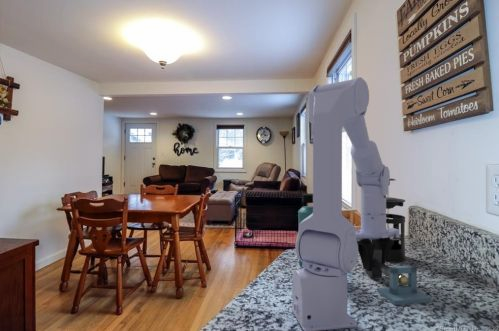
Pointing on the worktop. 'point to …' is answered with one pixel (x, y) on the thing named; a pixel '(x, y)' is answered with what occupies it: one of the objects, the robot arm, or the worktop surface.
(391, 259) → the french press
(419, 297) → the eye bracket
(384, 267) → the hook rod
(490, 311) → the worktop surface
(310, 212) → the beverage bottle
